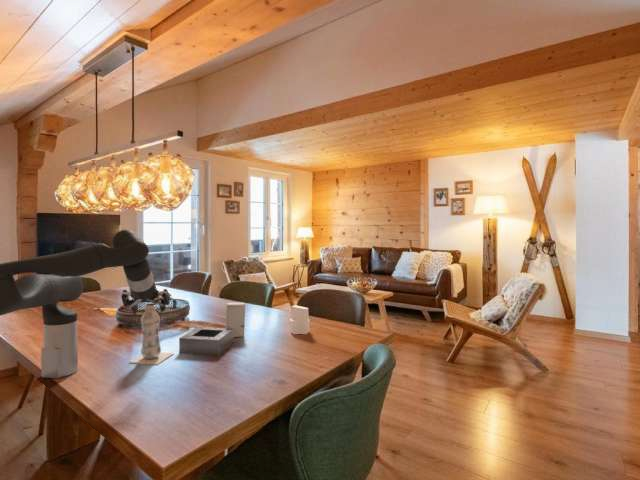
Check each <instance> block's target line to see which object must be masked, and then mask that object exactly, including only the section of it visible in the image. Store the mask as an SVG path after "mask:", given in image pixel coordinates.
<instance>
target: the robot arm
mask: <svg viewBox="0 0 640 480" xmlns="http://www.w3.org/2000/svg"><path fill="white" fill-rule="evenodd" d="M111 244H112V247H111V246H109V245H106V244H105V243H102V242H97V243H94V244H89V245H85V246H83V247H79V248H75V249H72V250H71V249H70V250H67V251H64V252H63V251H62V252H59V253H53V254H47V255H40V256H35V257H30V258H23V259H20V260H13V261H9V262H2V263H0V316H3V315H6V314H11V313H13V312H17V311H20V310H26V309H32V308H33V309H34V308H38V307H39V308H40V307H41V312H42V313H41V314H42V319H43V347H42V348H41V349H40V356H41V357H40V359H41V360H40V361H41V362H40V363H41V365H40V366H41V378H45V379H46V378H49V379H51V378H52V379H60V378H63V377H67V376H71V375H73V374H74V373H77V372H78V370H79V356H78V355H79V354H78V353H79V349H78V347H79V346H78V345H79V344H78V313H77V311H75V310H73V309H69V308H66V307H64V306H62V305H61V304H60V303H61V302H63V303H65V302H75V301H77V300H78V299H79V298H80V297H81V295H83V291H84V282H83V279H82V278H81V276H85V275H89V274H91V273H94V272H98V271H100V270H102V269H106V268H107V269H108V268H117V267H123V272H124V275H125V279H126V283H127V285H128V289H129V291H128V290H126V289H123V290H122V293H121V297H120V298H121V301H122V306H123V307H128V306H129V307H130V308H131V310H132V312H133V313H138V310H139V306H138V304H139V303H151V304H156V305H158V306H159V309H160V312H162V313H163V312H164V311H166V306H169V305H170V300H171V297H170V295H169V291H168V289H167V288H164V289H163V290H161V291H160V290H158V289H157V285H156V282H155V277H154V274H153V272H152V270H151V267H150V262H149V260H148V258H147V257H148V255H149V252H150V249H149V247H148V245H147V244H146V243H145V241H143V240H142V239H141V238H140V236H139V235H138V234H137V233H135V232H134V231H133V230H131V229H130V230H129V229H121V230H119V231H118V232H116V233H115V234H114V236H113V238H112V242H111ZM29 273H30V274H29ZM21 274H24V275H22V276H20V277H18V278H17V279H16V280H15V278H14V276H16V275H21ZM130 297H131V299H130ZM59 302H60V303H59Z"/></svg>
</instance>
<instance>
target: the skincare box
mask: <svg viewBox="0 0 640 480" xmlns="http://www.w3.org/2000/svg"><path fill="white" fill-rule="evenodd" d="M225 305H226V309H225V314H226V315H225V328H230V329H234V338H237V337H238V338H239V337H240V338H241V337H245V325H246V324H245V317H246V303H245V302H242V301H241V302H239V301H238V302H236V301H235V302H226V304H225Z"/></svg>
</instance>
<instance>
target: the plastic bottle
mask: <svg viewBox="0 0 640 480" xmlns="http://www.w3.org/2000/svg"><path fill="white" fill-rule="evenodd" d="M156 310H157V304H154V303H146V304H144V313H143V314H142V316H141V318H140V324H141V331H142V344H141V349H140V351H141V355H142V356H143V358H145V359H153V358H156V357H158V356H159V355H160V353H162V349H161V344H160V334H159V333H160V330H159V329H160V323H161V317H160V315H159V313H158V312H157V311H156Z"/></svg>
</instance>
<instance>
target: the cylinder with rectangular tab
mask: <svg viewBox="0 0 640 480" xmlns="http://www.w3.org/2000/svg"><path fill="white" fill-rule="evenodd" d="M290 308H291V309H290V310H291V312H290V314H291V315H290V317H291V318H290V319H289V321H290V322H289V326H290V327H289V333H290V332H291V333H293V334H292V335H294V334H305V333H308V332H309V333H310V318H309V307H305V306H301V305H296V304H295V305H291V306H290ZM291 333H290V334H291ZM309 333H308V334H309ZM305 335H306V334H305Z"/></svg>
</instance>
